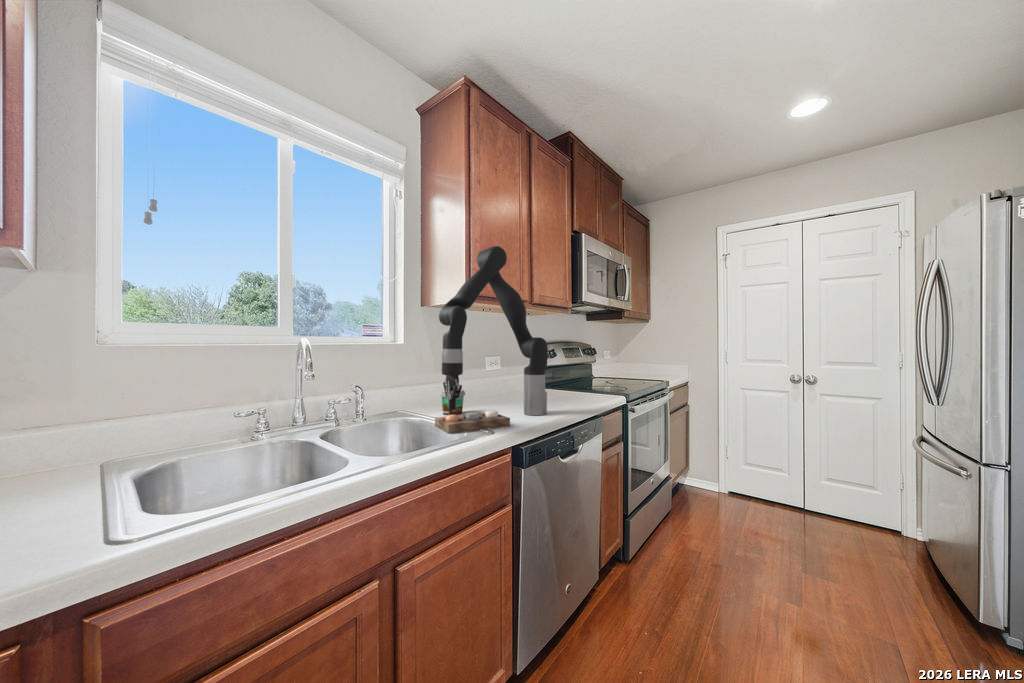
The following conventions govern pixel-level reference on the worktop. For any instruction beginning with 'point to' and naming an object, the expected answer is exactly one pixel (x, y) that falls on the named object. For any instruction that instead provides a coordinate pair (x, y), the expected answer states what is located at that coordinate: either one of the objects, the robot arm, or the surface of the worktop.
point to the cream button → (491, 414)
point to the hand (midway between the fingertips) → (451, 409)
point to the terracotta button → (451, 418)
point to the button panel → (471, 423)
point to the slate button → (472, 416)
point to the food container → (458, 404)
